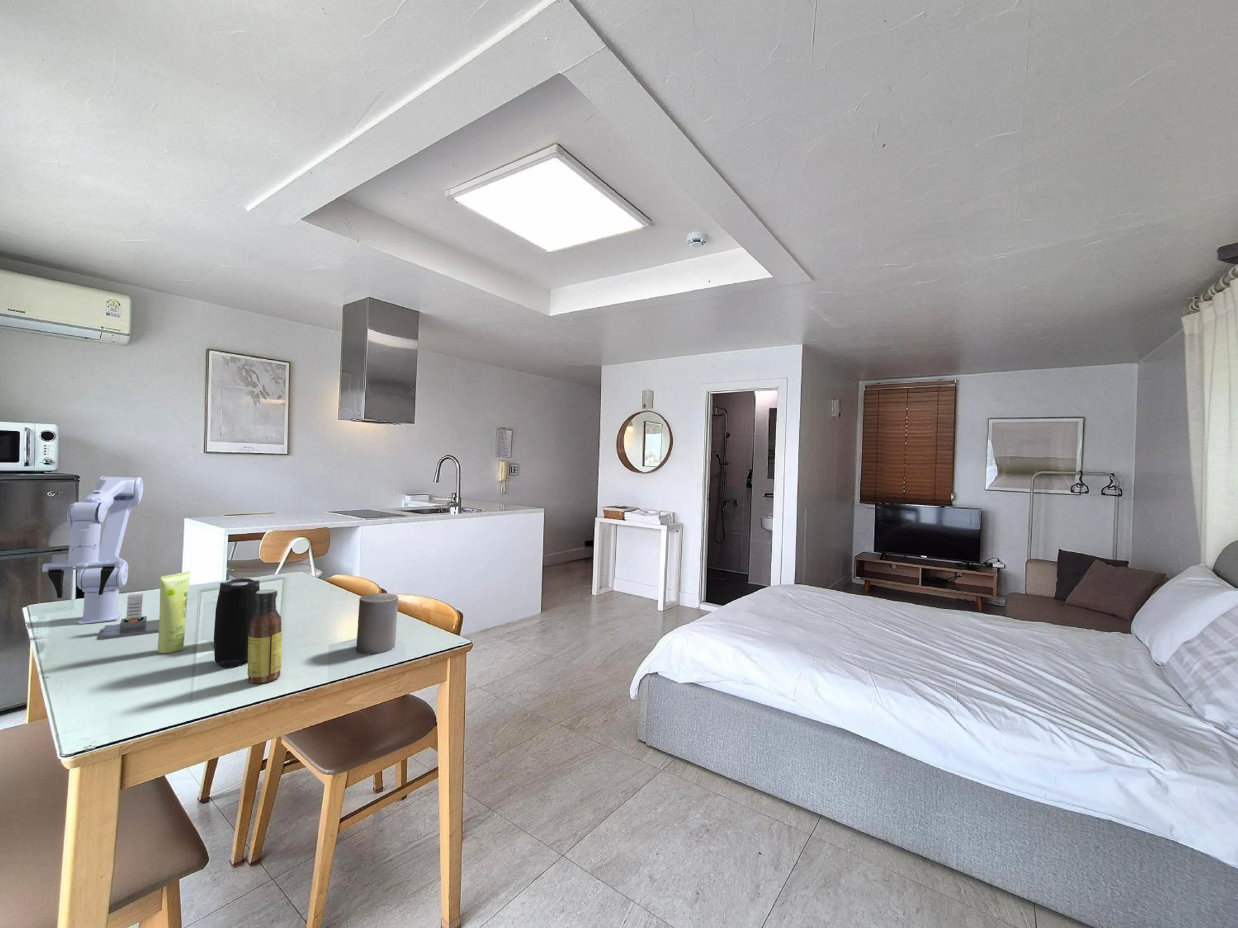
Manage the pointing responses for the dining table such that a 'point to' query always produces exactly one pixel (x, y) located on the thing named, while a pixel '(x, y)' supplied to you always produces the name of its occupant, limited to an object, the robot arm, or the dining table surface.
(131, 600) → the column
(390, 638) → the pillar candle
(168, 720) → the dining table surface
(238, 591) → the portable speaker
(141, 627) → the grey slotted base
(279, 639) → the sauce bottle
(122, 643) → the dining table surface
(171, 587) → the tube
